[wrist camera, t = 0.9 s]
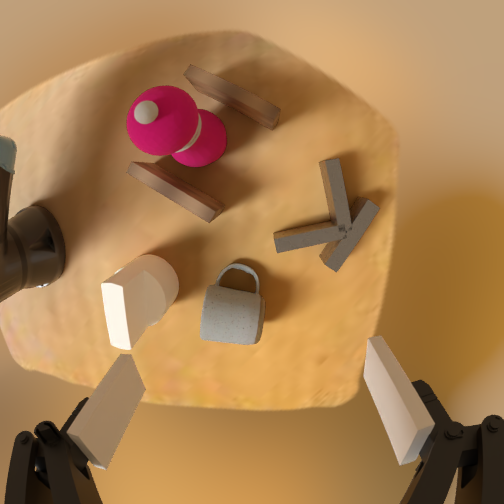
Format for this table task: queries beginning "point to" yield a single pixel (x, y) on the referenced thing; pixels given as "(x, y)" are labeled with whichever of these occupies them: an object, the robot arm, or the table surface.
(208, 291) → the ceramic mug
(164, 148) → the pepper mill
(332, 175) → the letter k block
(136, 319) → the base with upright slab
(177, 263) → the table surface
